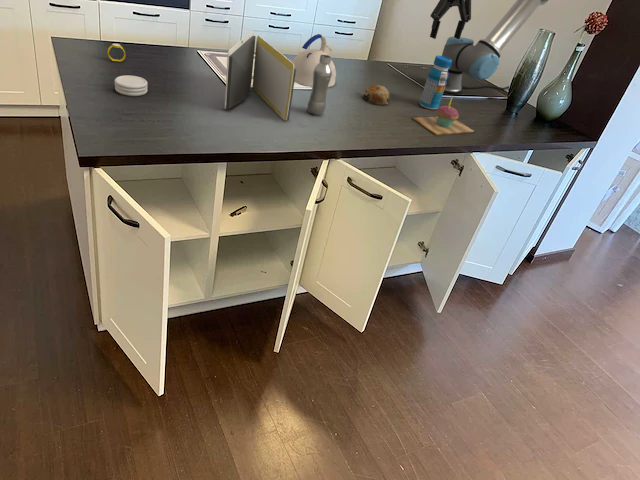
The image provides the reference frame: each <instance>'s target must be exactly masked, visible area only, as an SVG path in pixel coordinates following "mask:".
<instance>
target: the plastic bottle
mask: <svg viewBox="0 0 640 480" xmlns="http://www.w3.org/2000/svg"><path fill="white" fill-rule="evenodd" d="M330 60H332V57H331V56H330V55H321V56H320V59H319V61H320V63H319V64H318V65H317V66H316V67H315V68H314V72H313V87H311V92H310V96H309V99H308V102H307V111H308V112H309V113H310V114H312V115H317V116H318V115H323V113H324V112H325V110H326V107H327V101H326V100H327V93H328V88H329V87H328V85H329V82H330V79H331V75H332V71H331V68H330V65H329V63H330Z"/></svg>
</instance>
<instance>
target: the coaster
mask: <svg viewBox="0 0 640 480" xmlns="http://www.w3.org/2000/svg"><path fill="white" fill-rule="evenodd" d="M148 84H149V83H148V81H147V80H146V79H145V78H143V77H140V76H137V75H129V74H128V75H127V74H126V75H119V76H117V77H116V78H115V79H114V89H115V91H116V92H117V93H118V94H120V95H122V96H128V97H141V96H144V95H146V94H147V93H148V91H149V89H148V87H149V86H148Z"/></svg>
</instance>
